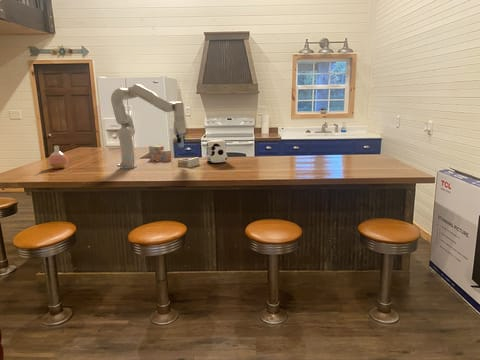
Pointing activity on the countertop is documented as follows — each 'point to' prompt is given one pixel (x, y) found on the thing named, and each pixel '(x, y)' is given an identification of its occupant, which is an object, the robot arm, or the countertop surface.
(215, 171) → the countertop surface
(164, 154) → the stack of blocks
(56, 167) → the vase
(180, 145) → the dowel
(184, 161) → the block
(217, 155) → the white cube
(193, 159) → the wall
